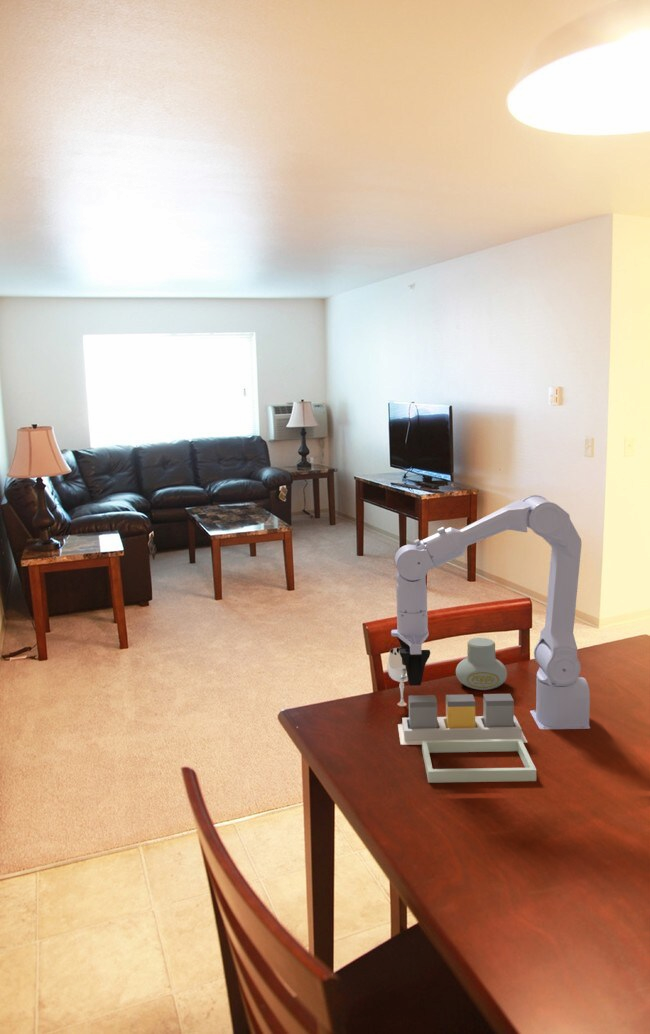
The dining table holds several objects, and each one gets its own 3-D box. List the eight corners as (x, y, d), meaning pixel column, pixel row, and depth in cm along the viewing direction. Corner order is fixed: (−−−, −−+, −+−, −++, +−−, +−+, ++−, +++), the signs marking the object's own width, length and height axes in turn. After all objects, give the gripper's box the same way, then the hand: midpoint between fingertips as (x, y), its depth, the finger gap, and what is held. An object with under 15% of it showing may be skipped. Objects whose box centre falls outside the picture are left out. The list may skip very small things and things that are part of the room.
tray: (520, 751, 127) (521, 738, 127) (536, 784, 117) (536, 770, 116) (422, 753, 128) (421, 740, 127) (428, 785, 117) (428, 771, 117)
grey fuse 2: (509, 728, 135) (510, 693, 133) (513, 736, 132) (513, 700, 130) (483, 728, 135) (483, 694, 134) (486, 736, 132) (486, 701, 131)
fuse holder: (517, 725, 137) (517, 712, 137) (527, 745, 129) (527, 732, 129) (397, 727, 138) (397, 714, 138) (400, 747, 130) (400, 734, 130)
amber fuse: (472, 729, 135) (472, 694, 134) (475, 736, 132) (475, 701, 131) (446, 729, 135) (445, 694, 134) (448, 737, 132) (447, 701, 131)
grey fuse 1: (435, 729, 135) (435, 695, 134) (437, 737, 132) (437, 702, 131) (409, 730, 135) (408, 695, 134) (410, 737, 132) (409, 702, 131)
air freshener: (456, 692, 153) (456, 648, 151) (455, 677, 161) (454, 635, 159) (508, 693, 151) (509, 649, 149) (504, 678, 159) (505, 635, 157)
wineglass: (415, 700, 149) (415, 646, 147) (416, 713, 144) (415, 656, 142) (388, 700, 150) (387, 646, 148) (388, 712, 144) (386, 656, 142)
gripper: (388, 598, 142) (390, 662, 144) (392, 621, 127) (394, 692, 130) (424, 597, 141) (425, 662, 144) (432, 620, 127) (433, 692, 129)
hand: (413, 676), depth 137 cm, fingers open, 7 cm apart
